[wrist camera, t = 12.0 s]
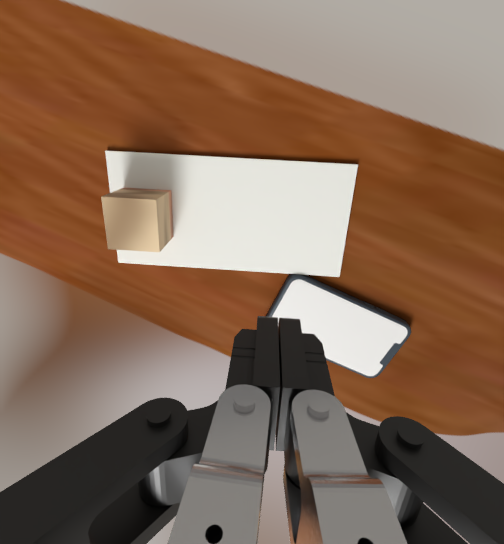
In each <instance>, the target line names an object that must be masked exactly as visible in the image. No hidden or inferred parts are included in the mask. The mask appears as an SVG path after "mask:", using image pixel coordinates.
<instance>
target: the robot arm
mask: <svg viewBox="0 0 504 544" xmlns="http://www.w3.org/2000/svg"><path fill="white" fill-rule="evenodd" d="M324 354H325V353H324V349H323V344H322V342H321V341H320V340H319V339H318V338H317V337H316V336H315V334H307V333H302V330H301V323H300V319H293V318H279V323H278V317H263V316H258V320H257V330H249V329H242V330H241V331H240V332H239V333H238V334H237V335H236V336H235V338H234V344H233V349H232V355H231V361H230V368H229V372H228V378H227V384H226V389H225V391H224V392H223V393H222V394H221V396H220V397H219V400H218V401H216V402H215V403H213V404H212V405H210V406H207V407H204V408H200V409H195V410H189V411H187V409H186V408H185V406H184V405H183V404H182V403H181V402H179V401H177V400H175V399H171V398H157V399H154V400H150V401H148V402H146V403H144V404H142V405H141V406H139V407H138V408H136V409H134V410H133V411H131V412H129V413H128V414H126V415H125V416H123V417H121V418H120V419H118V420H116V421H115V422H113V423H112V424H110V425H108V426H107V427H105V428H104V429H102V430H100V431H99V432H97V433H95V434H94V435H92V436H90V437H89V438H87V439H86V440H84V441H82V442H81V443H79V444H78V445H76V446H74V447H73V448H71V449H69V450H68V451H66V452H65V453H63V454H61V455H60V456H58V457H57V458H55V459H53V460H52V461H50V462H48V463H47V464H45V465H44V466H42V467H40V468H39V469H37V470H36V471H34V472H32V473H31V474H29V475H27V476H26V477H24V478H23V479H21V480H19V481H18V482H16V483H14V484H13V485H11V486H10V487H8V488H6V489H5V490H3V491H2V492H0V544H147V543H148V542H149V541H150V540H151V539H152V538H153V537H154V536H155V535H156V534H157V533H158V532H159V531H160V530H161V529H162V528H163V527H164V526H165V525H166V524H167V523H169V522H170V520H172V519H173V518H174V517H175V516H176V515H177V516H176V519H175V522H174V525H173V528H172V532H171V535H170V538H169V541H168V544H257V543H258V533H259V523H260V513H261V503H262V493H263V483H264V474H265V472H266V470H267V466H268V456H269V450H274V442H275V433H276V451H284V456H285V457H284V458H285V465H284V473H283V483H284V492H285V501H286V510H287V518H288V528H289V536H290V544H468V543H466V542H465V541H464V540H463V539H462V538H461V537H460V536H459V535H457V534H456V533H455V532H454V531H453V530H452V529H451V528H450V527H449V526H448V525H446V524H445V523H444V522H443V521H442V520H441V519H440V518H439V517H438V516H437V515H436V514H434V513H433V512H432V511H431V510H430V509H429V508H428V507H426V505H424V504H423V502H425V503H426V504H427V505H428V506H429V507H430V508H431V509H432V510H433V511H434V512H436V513H437V514H438V515H439V516H440V517H441V518H442V519H443V520H445V521H446V522H447V523H448V524H449V525H450V526H451V527H452V528H453V529H454V530H456V531H457V532H458V533H459V534H460V535H461V536H462V537H463V538H465V539H466V540H467V541H468V542H469V543H470V544H504V484H503V483H502V482H501V481H499V480H498V479H496V478H495V477H494V476H492V475H491V474H490V473H488V472H487V471H485V470H484V469H482V468H481V467H480V466H478V465H477V464H476V463H474V462H473V461H472V460H470V459H469V458H467V457H466V456H465V455H463V454H462V453H461V452H459V451H458V450H456V449H455V448H454V447H452V446H451V445H450V444H448V443H447V442H445V441H444V440H443V439H441V438H440V437H439V436H437V435H436V434H434V433H433V432H432V431H430V430H429V429H427V428H426V427H425V426H423V425H422V424H420V423H418V422H416V421H414V420H412V419H409V418H405V417H390V418H387V419H385V420H384V421H382V423H381V424H380V427H379V426H376V425H373V424H370V423H367V422H364V421H361V420H359V419H356V418H354V417H353V416H351V415H349V414H348V413H346V411H345V409H344V407H343V405H342V403H341V402H340V401H339V400H338V399H337V398H336V397H335V396H334V392H333V387H332V383H331V379H330V374H329V370H328V366H327V364H326V357H325V355H324Z"/></svg>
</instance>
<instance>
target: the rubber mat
mask: <svg viewBox="0 0 504 544" xmlns="http://www.w3.org/2000/svg"><path fill="white" fill-rule="evenodd" d="M105 153H106V161H107V170H108V178H109V186H110V193H111V192H114V191H116V190H119V189H121V188H141V189H159V190H171V193H172V214H173V235H174V237H173V238H172V239H171V240H170V241H169V242H168V243H167V245H166V246H165V247H164V248H163V249H162V250H161V251H160V252H147V251H131V250H117V254H118V263H133V264H148V265H163V266H179V267H194V268H210V269H225V270H240V271H256V272H271V273H287V274H302V275H317V276H333V277H340V271H341V265H342V259H343V253H344V246H345V240H346V234H347V228H348V222H349V216H350V210H351V204H352V198H353V192H354V186H355V180H356V174H357V168H358V164H343V163H324V162H306V161H288V160H270V159H252V158H233V157H215V156H197V155H179V154H160V153H142V152H124V151H105Z"/></svg>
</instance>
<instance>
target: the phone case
mask: <svg viewBox="0 0 504 544" xmlns="http://www.w3.org/2000/svg"><path fill="white" fill-rule="evenodd" d="M266 317H278V323H279V318H293V319H300V323H301V330H302V333H307V334H315V336H316V337H317V338H318V339H319V340H320V341H321V342H322V344H323V349H324V353H325V354H324V355H325V357H326V360H328V361H330V362H332V363H335V364H337V365H339V366H342V367H344V368H346V369H348V370H351V371H353V372H355V373H358V374H360V375H362V376H365V377H367V378H374V377H377V376H378V375H380V373H381V372H382V371H383V370H384V368H385V367H386V366H387V364H388V363H389V362H390V361H391V359H392V358H393V357H394V355H395V354H396V353H397V352H398V350H399V349H400V348H401V346H402V345H403V344H404V343H405V341H406V340H407V339H408V337H409V336H410V334H411V328H410V326H409V325H408V323H407V322H406V321H405V320H403V319H401V318H399V317H397V316H394V315H392V314H390V313H388V312H386V311H384V310H382V309H380V308H378V307H375V306H373V305H371V304H369V303H367V302H365V301H362V300H359V299H357V298H355V297H353V296H350V295H348V294H346V293H344V292H342V291H339V290H337V289H335V288H333V287H331V286H328V285H326V284H324V283H322V282H319V281H317V280H315V279H313V278H311V277H308V276H306V275H302V274H291V275H289V276H288V278H287V279H286V281H285V283H284V284H283V286H282V288H281V290H280V292H279V293H278V295H277V297H276V299H275V301H274V302H273V304H272V306H271V308H270V310H269V311H268V313H267V315H266Z"/></svg>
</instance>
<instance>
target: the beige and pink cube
mask: <svg viewBox="0 0 504 544" xmlns="http://www.w3.org/2000/svg"><path fill="white" fill-rule="evenodd" d="M101 199H102V206H103V214H104V222H105V229H106V237H107V245H108V249H115V250H131V251H147V252H160V251H161V250H162V249H163V248H164V247H165V246H166V245H167V243H168V242H169V241H170V240H171V239H172V238H173V237H174V235H173V214H172V193H171V190H159V189H141V188H121V189H119V190H116V191H114V192H111V193H109V194H107V195H104V196H102V197H101Z"/></svg>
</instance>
